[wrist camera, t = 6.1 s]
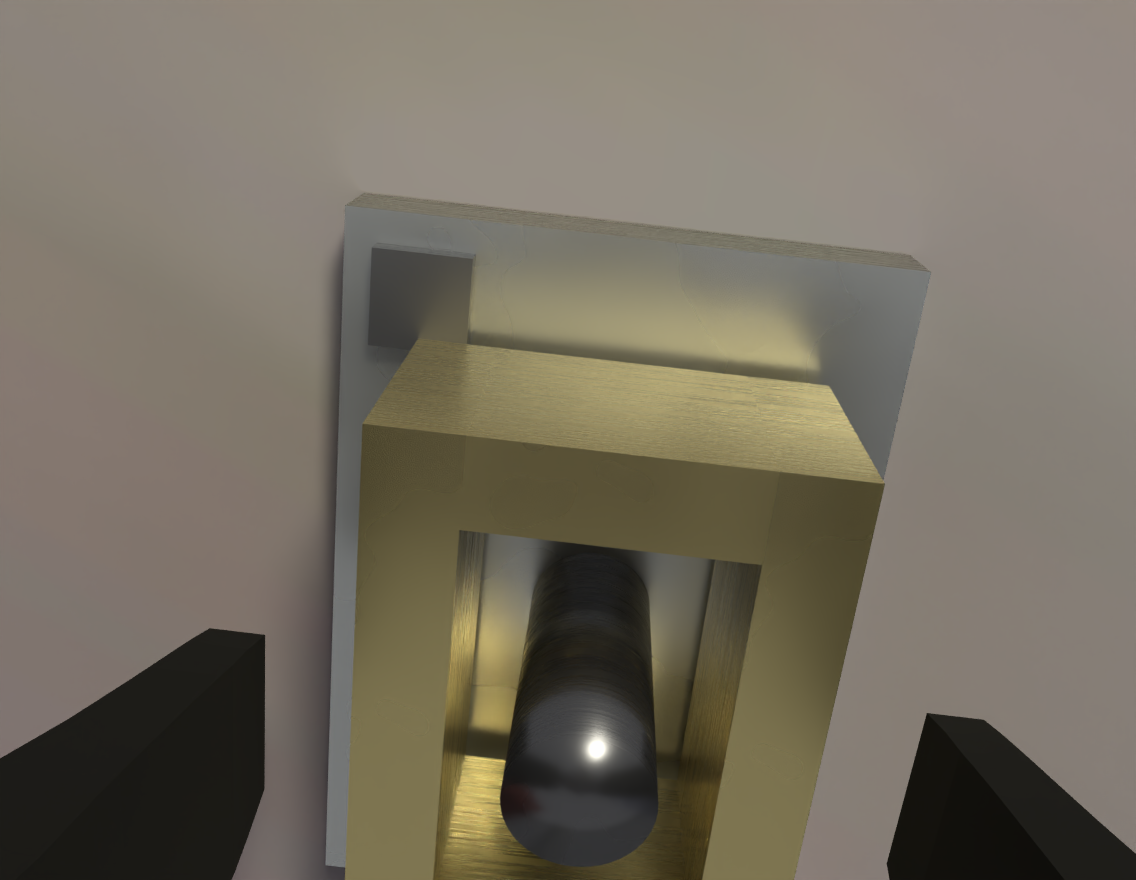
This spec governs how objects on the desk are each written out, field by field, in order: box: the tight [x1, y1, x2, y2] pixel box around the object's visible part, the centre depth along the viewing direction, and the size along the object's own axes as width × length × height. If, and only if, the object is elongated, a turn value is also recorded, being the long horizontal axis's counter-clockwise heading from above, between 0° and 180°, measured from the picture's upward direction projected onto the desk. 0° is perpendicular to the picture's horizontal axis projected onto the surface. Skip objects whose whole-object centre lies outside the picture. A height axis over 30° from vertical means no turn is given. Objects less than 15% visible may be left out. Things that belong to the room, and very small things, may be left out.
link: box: [345, 339, 885, 880], centre depth 13 cm, size 7×5×3 cm
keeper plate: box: [326, 193, 931, 867], centre depth 13 cm, size 10×7×5 cm
